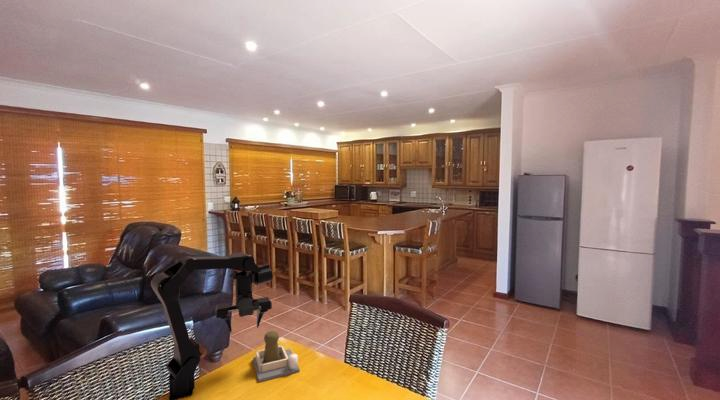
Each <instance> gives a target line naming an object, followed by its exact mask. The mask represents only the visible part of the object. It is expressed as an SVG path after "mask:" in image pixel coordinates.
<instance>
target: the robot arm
mask: <svg viewBox="0 0 720 400" xmlns="http://www.w3.org/2000/svg"><path fill="white" fill-rule="evenodd" d="M222 269H223V270H224V269H228V270H229V269H230V270H233V271H232V273H230V274H229V275H228V278H230V279H233V280H234V281H235V283H234V284H235V286H234V289H235V294H234V295H235V304H234V305H229V304H228V303H227V302H225V303H219V304H216V306H215V318H217V319H220V320H224V322H225V324H226V325H227V327H228V329H229V330H228V331H229V333H232V332H233V331H232V324H231V318H230V312H236V311H238V316H239V317H241V318H243V317H245V316H252V315H254V313H255V311H256V312H257V313H256V328H259V326H260V324H261V320H262V318H263V317H264V314H265V313H267V312H268V311H269V310H271V309H273V307H272V305H273V304H272V301H271V298H269V296H266V297H265V296H264V297H260V298H254V297H253V284H254V285H256V286H257V285H262V284H266V283H270V282H272V280H273V278H274V277H273V276H274V275H273V271H272V269H271V267H270V264H268V263H264V264H261V265H257V263H256V262H255V258H254V256H252V255H251V254H247V253H245V252H241V251H239V252H235V253H231V254H229V255H225V256H223V255H222V256H214V255H213V256H211V255H210V256H190V255H187V256H184V257H182V258H181V259H180V260H178V261H177V262H175V263H174V264H172V265H170V266H169V267H166V268H165V269H164V270H163V271H162V272H159V273H157V274H155V276H153V278H152V279H151V281H150V286H151V289H152V290H153V292H154V293H155V295H156V296H157V299H158V300H159V301H160V303H161V304H162V307H163V310H164V313H165V317H166V320H167V323H168V326H169V329H170V333H171V336H172V339H173V344H174V345H173V350H172V351H173V357H172V358H171V359H170V361H169V362H168V363H167V364H166V365H165V369H166V370H167V371H168V373H169V377H168V382H169V383H168V384H169V387H168V388H169V390H168V391H169V395H168V400H180V399H184V398H188V397H192V395H194V390H195V373H196V370H197V367H198V366H199V364H200V363H201V359H202V358H201V356H203V354H202V352H201V349H200V344H199V343H198V342H197V341H196V340H195V339H194V338H193V337H190V336H189V331H188V328H187V325H186V321H185V319H184V316H183V314H184V313H183V312H182V307H181V304H180V295H181V290H180V286H182V285H183V284H184V283H185V282H186V280H187V279H188V278H189V276H190V275H191V274H192V273H193V272H194V271H197V270H198V271H203V270H222Z"/></svg>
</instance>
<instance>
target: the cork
mask: <svg viewBox="0 0 720 400" xmlns="http://www.w3.org/2000/svg"><path fill="white" fill-rule="evenodd" d="M279 338H280V335H279V333H278V331H275V330H269V331H267V332H266V333H265V334H264V336H263V339H264V343H265V346H264V347H265V348H264V349H265V352H264V360H263V364H265V363H269V362H273V361H277V360H280V356H279V349H278V346H279V344H278V343H279Z"/></svg>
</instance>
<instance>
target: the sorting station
mask: <svg viewBox="0 0 720 400" xmlns="http://www.w3.org/2000/svg"><path fill="white" fill-rule="evenodd" d="M278 349H279V356H280V360H277V361H273V362H269V363H265V364H263V360H264V352H265V348H263V349H260V350H256V351H255V356H254V357H252V362H253V365H254V370H255V373H256V377H257V381H258V383H260V382H264V381H268V380H273V379H276V378H280V377H285V376H288V375H292V374H295V373H296V374H297V373H300V372H301V370H300V367H299V365H298V364H299V363H298V362H299V360H298V359H299V355H298V354H296V353H292V350H291V348H289V349H285V347H284V345H278Z"/></svg>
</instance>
